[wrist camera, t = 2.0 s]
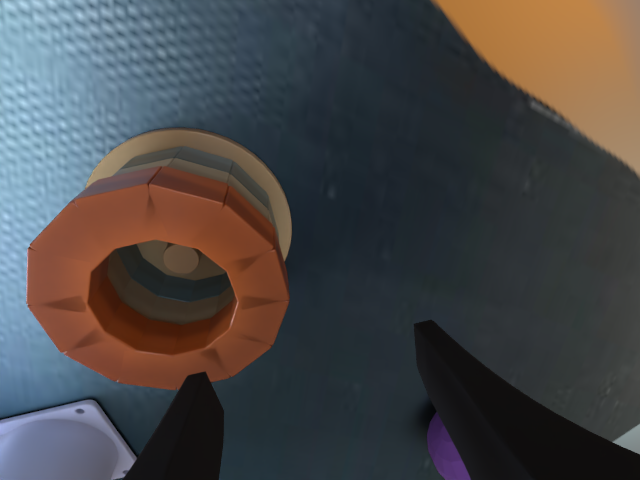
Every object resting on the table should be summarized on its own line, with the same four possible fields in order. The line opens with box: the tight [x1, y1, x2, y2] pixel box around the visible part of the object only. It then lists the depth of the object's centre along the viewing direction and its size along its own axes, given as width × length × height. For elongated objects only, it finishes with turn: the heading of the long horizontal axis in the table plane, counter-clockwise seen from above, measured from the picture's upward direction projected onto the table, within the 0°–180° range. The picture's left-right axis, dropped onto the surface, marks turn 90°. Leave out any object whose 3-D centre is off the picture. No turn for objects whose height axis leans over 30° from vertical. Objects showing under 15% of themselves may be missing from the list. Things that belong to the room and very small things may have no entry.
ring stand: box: [85, 128, 292, 325], centre depth 18 cm, size 10×10×5 cm
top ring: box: [26, 166, 290, 390], centre depth 15 cm, size 9×9×2 cm
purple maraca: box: [427, 412, 471, 480], centre depth 31 cm, size 6×6×20 cm
